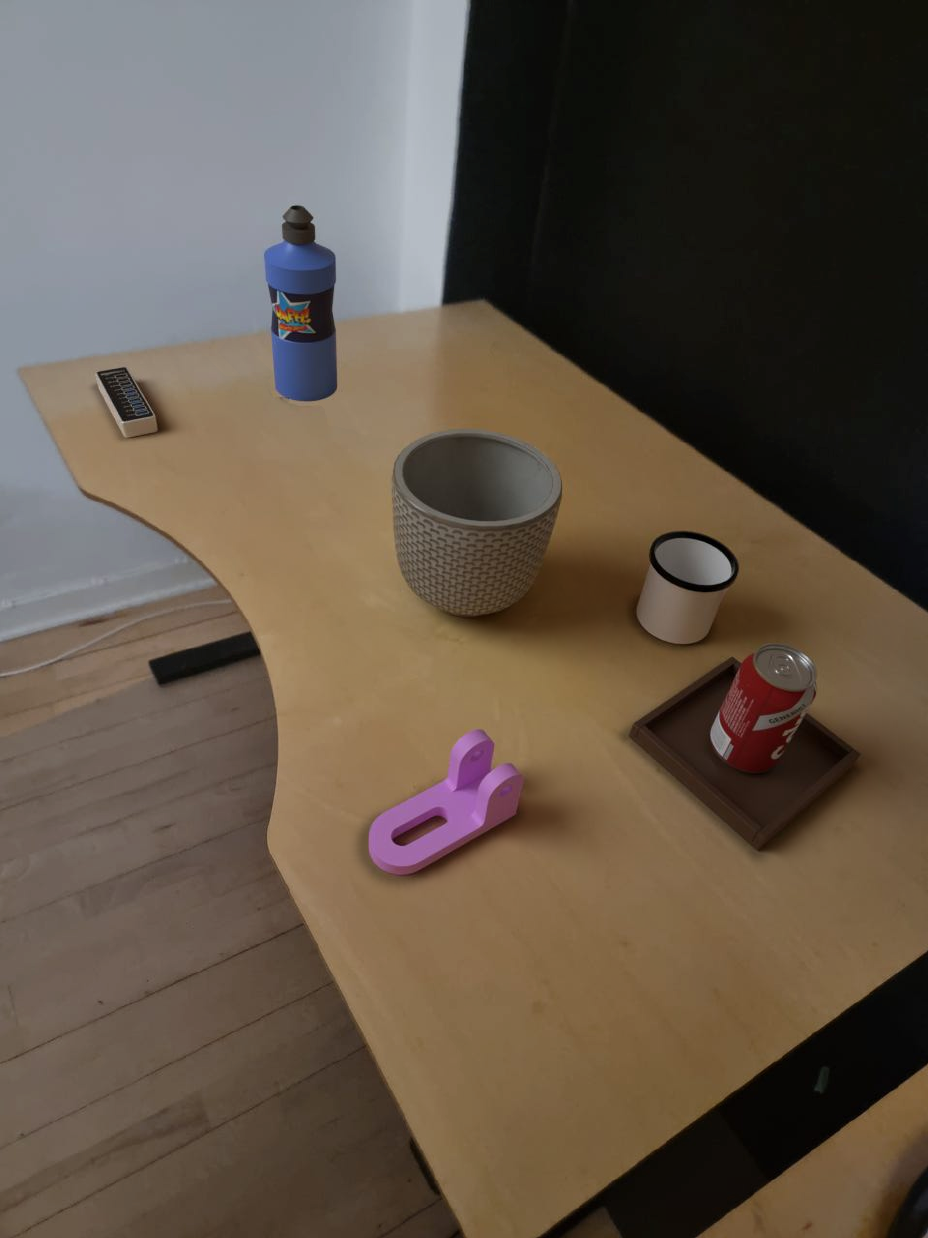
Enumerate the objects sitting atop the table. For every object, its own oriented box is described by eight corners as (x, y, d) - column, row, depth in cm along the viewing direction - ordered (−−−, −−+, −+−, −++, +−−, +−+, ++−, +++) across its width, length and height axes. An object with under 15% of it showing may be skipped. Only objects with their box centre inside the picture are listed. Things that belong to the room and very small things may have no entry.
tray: (852, 766, 83) (861, 753, 81) (757, 851, 75) (764, 839, 73) (726, 668, 91) (732, 655, 89) (628, 736, 83) (632, 723, 81)
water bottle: (323, 407, 121) (317, 226, 104) (263, 393, 122) (246, 212, 105) (347, 377, 128) (345, 203, 110) (290, 364, 129) (279, 189, 111)
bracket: (479, 770, 78) (487, 723, 74) (515, 814, 75) (526, 768, 71) (356, 835, 72) (356, 789, 68) (390, 886, 69) (393, 841, 65)
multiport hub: (125, 438, 111) (121, 422, 110) (97, 386, 120) (94, 371, 118) (158, 431, 113) (155, 416, 112) (129, 380, 122) (126, 365, 120)
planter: (432, 526, 104) (441, 410, 93) (562, 575, 99) (588, 460, 88) (358, 609, 92) (358, 488, 81) (502, 669, 88) (523, 550, 77)
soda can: (708, 770, 80) (749, 686, 72) (706, 715, 85) (743, 631, 77) (780, 783, 80) (829, 701, 71) (773, 728, 85) (819, 645, 76)
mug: (664, 659, 91) (687, 597, 84) (614, 603, 97) (632, 541, 90) (748, 629, 95) (776, 568, 89) (696, 577, 101) (718, 516, 95)
